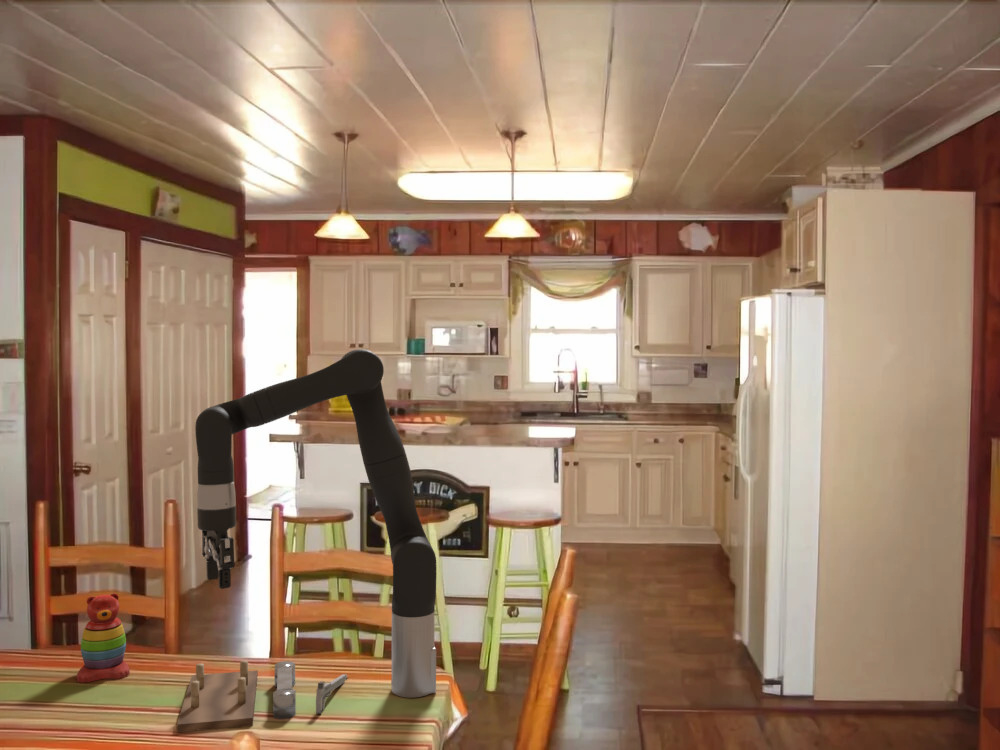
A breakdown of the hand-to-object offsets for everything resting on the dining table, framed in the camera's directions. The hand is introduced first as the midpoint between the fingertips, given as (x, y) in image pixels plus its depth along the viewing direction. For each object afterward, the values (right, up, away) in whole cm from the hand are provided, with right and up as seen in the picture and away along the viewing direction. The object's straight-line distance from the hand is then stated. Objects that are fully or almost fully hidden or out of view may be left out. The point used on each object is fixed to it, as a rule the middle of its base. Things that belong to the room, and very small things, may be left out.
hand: (218, 583), depth 179 cm
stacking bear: (-32, -25, +19) cm, 45 cm away
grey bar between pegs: (+12, -26, +5) cm, 29 cm away
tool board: (-1, -26, +3) cm, 26 cm away
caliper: (+22, -26, +7) cm, 35 cm away
